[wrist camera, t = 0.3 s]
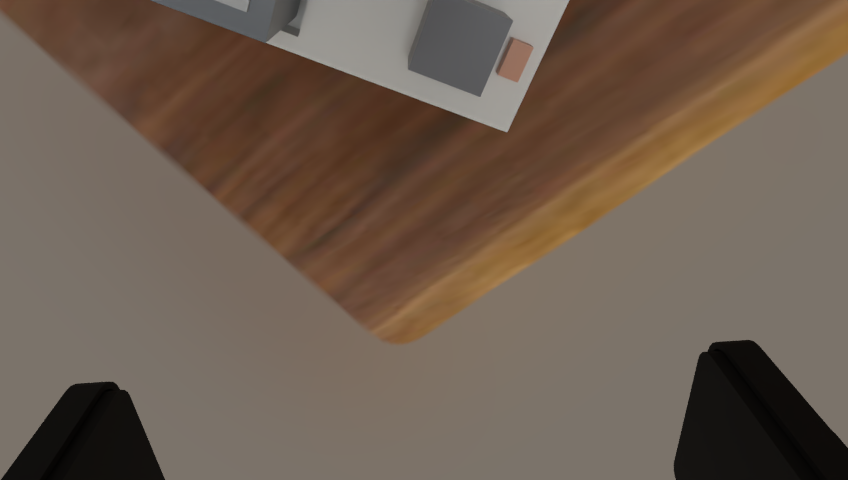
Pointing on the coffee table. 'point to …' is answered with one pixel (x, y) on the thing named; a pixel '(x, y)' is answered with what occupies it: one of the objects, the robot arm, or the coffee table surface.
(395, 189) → the coffee table surface
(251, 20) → the block
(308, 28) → the power strip
